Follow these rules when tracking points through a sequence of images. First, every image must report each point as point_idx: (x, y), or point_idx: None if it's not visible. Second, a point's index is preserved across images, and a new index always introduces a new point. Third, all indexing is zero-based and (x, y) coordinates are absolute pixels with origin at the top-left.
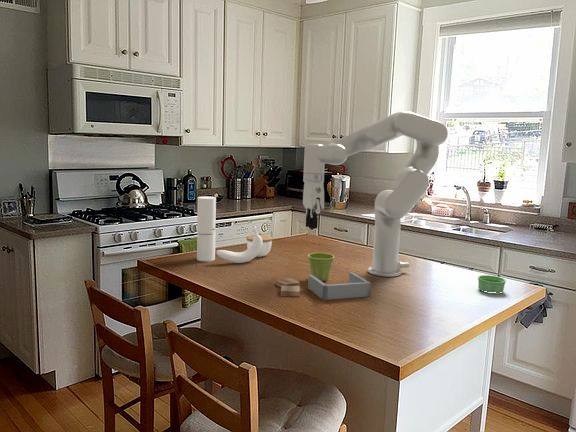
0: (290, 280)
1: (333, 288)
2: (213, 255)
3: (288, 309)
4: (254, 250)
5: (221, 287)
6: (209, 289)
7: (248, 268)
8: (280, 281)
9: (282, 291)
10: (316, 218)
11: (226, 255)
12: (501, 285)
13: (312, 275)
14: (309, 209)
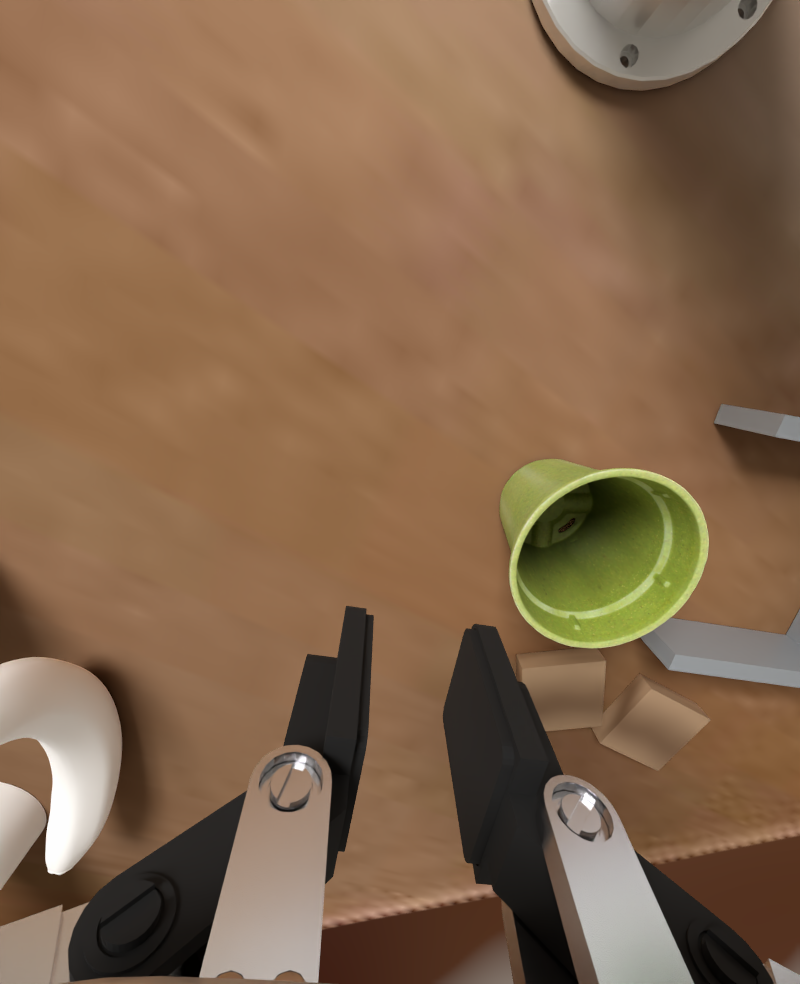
0: (558, 683)
1: None
2: (10, 820)
3: (778, 787)
4: (61, 707)
5: (454, 871)
6: (457, 902)
7: (222, 715)
8: (549, 724)
9: (660, 764)
10: (567, 790)
11: (103, 823)
12: None
13: (687, 657)
14: (175, 976)
